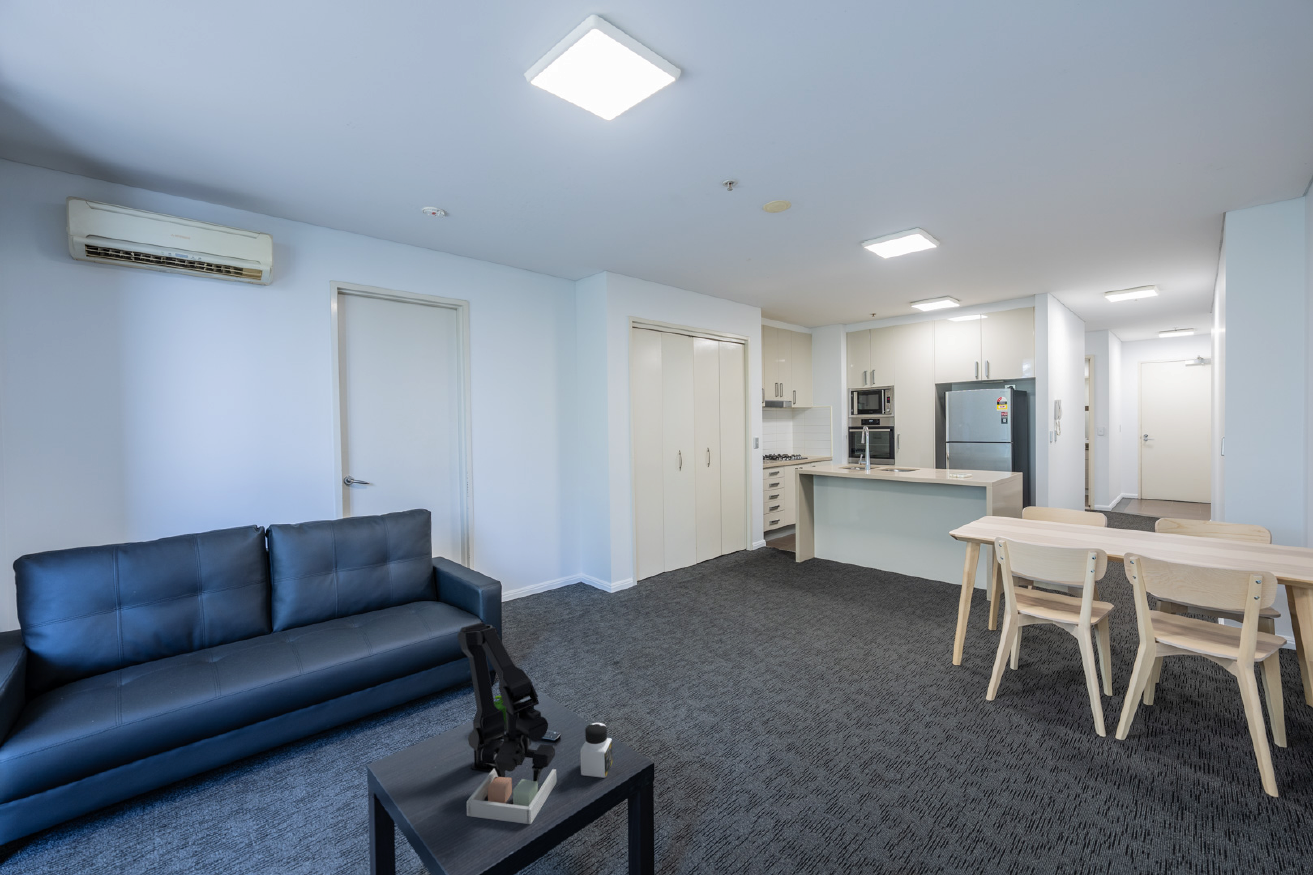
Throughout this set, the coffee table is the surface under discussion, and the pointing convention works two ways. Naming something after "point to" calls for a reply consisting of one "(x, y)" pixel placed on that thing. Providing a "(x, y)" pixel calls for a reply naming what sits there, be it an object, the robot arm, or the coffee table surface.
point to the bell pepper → (500, 706)
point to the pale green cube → (525, 792)
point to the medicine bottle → (596, 751)
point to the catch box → (508, 811)
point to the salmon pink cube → (500, 789)
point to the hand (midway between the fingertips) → (518, 784)
